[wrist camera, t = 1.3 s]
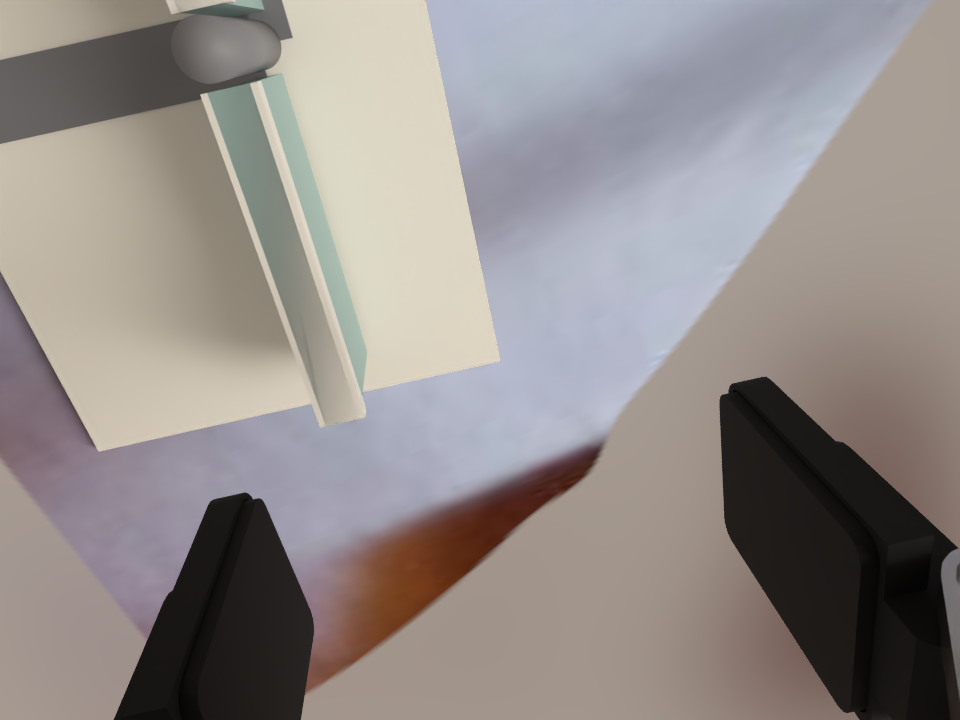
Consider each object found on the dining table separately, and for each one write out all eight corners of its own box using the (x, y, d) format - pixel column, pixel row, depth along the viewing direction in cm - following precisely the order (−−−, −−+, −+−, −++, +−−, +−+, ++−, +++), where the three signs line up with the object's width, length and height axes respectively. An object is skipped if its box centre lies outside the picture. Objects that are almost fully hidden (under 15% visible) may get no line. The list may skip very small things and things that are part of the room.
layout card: (290, -646, 17) (287, -663, 17) (499, 357, 30) (500, 362, 30) (-405, -492, 17) (-427, -507, 17) (102, 446, 30) (97, 452, 30)
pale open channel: (287, 71, 24) (257, 81, 19) (372, 350, 28) (365, 417, 23) (242, 81, 24) (200, 94, 19) (334, 359, 28) (320, 427, 23)
